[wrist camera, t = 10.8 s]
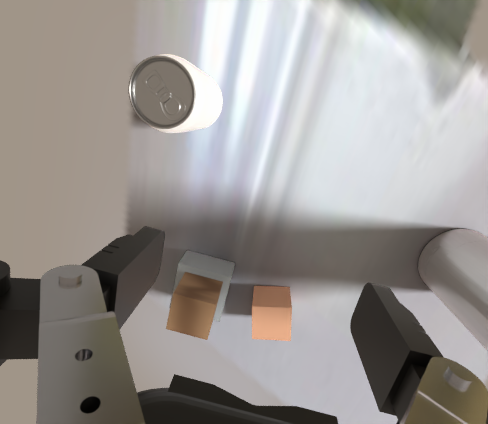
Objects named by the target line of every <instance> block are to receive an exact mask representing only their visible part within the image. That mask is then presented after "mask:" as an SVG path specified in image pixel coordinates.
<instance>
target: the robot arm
mask: <svg viewBox="0 0 488 424" xmlns="http://www.w3.org/2000/svg"><path fill="white" fill-rule="evenodd" d="M164 239H165V232H164V231H162V230H158V229H154V228H150V227H146V226H145V227H143V228H142V229H141V230H140V231H139V232H137V233H136V234H135V235H134V236H132V235H126V236H123V237H120V238H117V239H115V240H114V241H112V242H111V243H110V244H109V245H108V246H106V247H104V248H103V249H102V251H99V252H98V253H97V254H95V255H94V256H93V257H91V258H90V259H89V260H87V261H86V262H85V263H83V264H82V265H65V266H60V267H57V268H54V269H51V270H49V271H47V272H46V273H45V274H44V275H43V276H42V278H41V279H23V278H10V267H9V265H8V264H7V263H5V262H3V261H0V366H1V365H2V364H3V363H4V362H5V361H6V360H7V359H38V384H37V385H38V387H37V388H38V389H37V421H36V423H37V424H338V421H337V417H335V416H331V415H328V414H324V413H320V412H316V411H312V410H309V409H305V408H301V407H297V406H255V405H252V404H250V403H248V402H246V401H244V400H242V399H240V398H238V397H236V396H234V395H232V394H231V393H229V392H227V391H225V390H223V389H221V388H219V387H217V386H215V385H213V384H209V383H205V382H201V381H198V380H194V379H190V378H186V377H182V376H179V375H175V374H174V377H173V379H172V382H171V384H170V387H169V388H158V389H150V390H145V391H141V392H138V393H137V392H136V388H135V384H134V381H133V377H132V373H131V370H130V366H129V363H128V359H127V356H126V352H125V348H124V345H123V341H122V337H121V334H120V328H121V327H122V326H123V324H124V323H125V321H126V320H127V319H128V317H129V316H130V315H131V313H132V312H133V311H134V309H135V308H136V306H137V305H138V304H139V302H140V301H141V300H142V298H143V297H144V296H145V294H146V293H147V292H148V290H149V289H150V287H151V286H152V285H153V283H154V282H155V280H156V278H157V276H158V273H159V270H160V265H161V258H162V252H163V245H164ZM418 269H419V274H420V276H421V279H422V280H423V281H424V283H425V284H426V285H427V286H428V287H429V288H430V289H431V290H432V291H433V292H434V294H435V295H436V296H437V297H438V298H439V299H440V300H441V301H442V302H443V303H444V305H445V306H446V307H447V308H448V309H449V310H450V311H451V312H452V313H453V314H454V315H455V316H456V317H457V318H458V320H459V321H460V322H461V323H462V324H463V325H464V326H465V327H466V328H467V329H468V330H469V331H470V332H471V334H472V335H473V336H474V337H475V338H476V339H477V340H478V341H479V342H480V343H481V344H482V345H483V346H484V348H485V349H486V350H487V351H488V237H486V236H484V235H483V234H481V233H479V232H477V231H473V230H470V229H455V230H450V231H447V232H444V233H442V234H440V235H438V236H436V237H435V238H434V239H432V240H431V241H430V242H429V243H428V244H427V245H426V246H425V248H424V249H423V251H422V252H421V255H420V258H419V262H418ZM351 333H352V336H353V339H354V342H355V345H356V347H357V350H358V353H359V356H360V358H361V361H362V364H363V367H364V369H365V372H366V375H367V378H368V381H369V383H370V386H371V389H372V392H373V394H374V397H375V400H376V403H377V406H378V408H379V411H380V412H384V413H388V414H392V415H395V416H397V418H398V421H397V423H396V424H488V390H487V388H486V386H485V385H484V384H483V382H482V381H481V380H480V379H479V378H478V377H477V376H476V375H475V374H473V373H472V372H471V371H470V370H468V369H467V368H465V367H464V366H462V365H460V364H459V363H457V362H455V361H452V360H450V359H447V358H444V357H443V356H442V354H441V353H440V351H439V350H438V349H437V347H436V346H435V344H434V343H433V342H432V340H431V339H430V337H429V336H428V335H427V334H426V332H425V330H424V329H423V327H422V326H420V323H419V322H418V320H417V319H416V318H415V316H414V315H413V314H412V313H411V312H410V311H409V310H408V309H407V308H405V307H404V306H403V305H402V304H400V303H399V301H398V300H397V298H396V297H395V295H394V294H393V292H392V291H391V289H390V288H388V287H385V286H381V285H377V284H373V283H367V284H366V285H365V286H364V288H363V290H362V293H361V295H360V298H359V300H358V303H357V305H356V308H355V310H354V313H353V315H352V318H351Z"/></svg>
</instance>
